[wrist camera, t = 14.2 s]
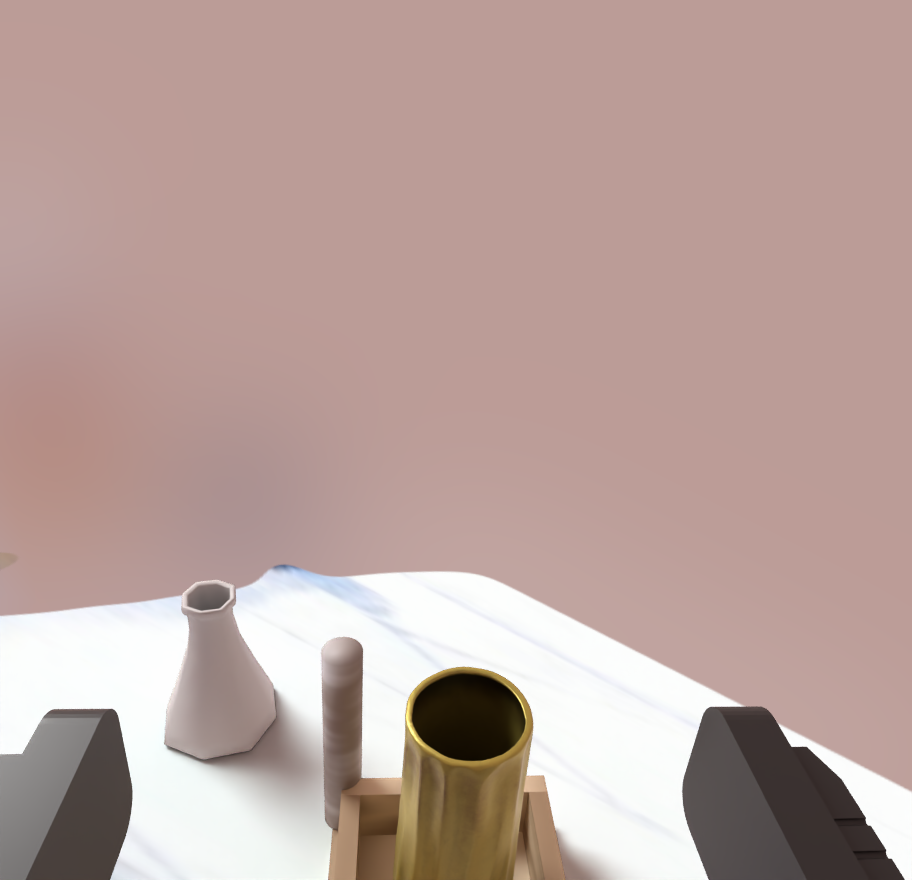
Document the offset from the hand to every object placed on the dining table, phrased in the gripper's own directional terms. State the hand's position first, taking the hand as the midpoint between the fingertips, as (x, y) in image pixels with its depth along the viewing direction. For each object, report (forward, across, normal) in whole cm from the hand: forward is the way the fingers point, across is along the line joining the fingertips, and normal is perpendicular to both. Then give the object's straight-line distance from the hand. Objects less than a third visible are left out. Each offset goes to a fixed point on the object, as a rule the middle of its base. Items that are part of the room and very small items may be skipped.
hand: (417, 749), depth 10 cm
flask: (+28, +11, +30) cm, 43 cm away
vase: (+14, -3, +29) cm, 32 cm away
